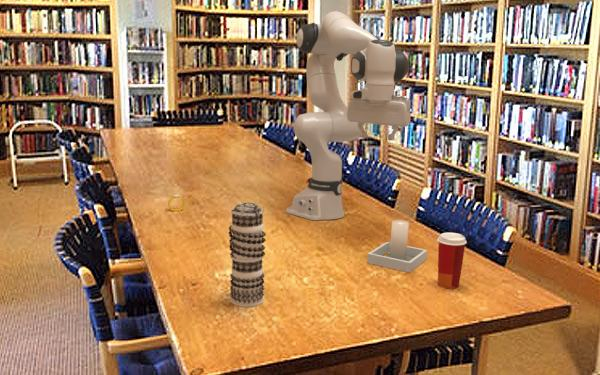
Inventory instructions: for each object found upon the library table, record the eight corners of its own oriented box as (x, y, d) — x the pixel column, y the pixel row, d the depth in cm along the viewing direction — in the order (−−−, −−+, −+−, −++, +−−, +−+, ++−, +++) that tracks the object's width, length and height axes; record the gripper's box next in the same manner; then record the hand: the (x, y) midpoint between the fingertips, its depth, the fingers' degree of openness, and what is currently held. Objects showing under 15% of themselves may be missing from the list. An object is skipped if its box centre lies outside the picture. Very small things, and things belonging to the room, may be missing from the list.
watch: (169, 212, 235) (168, 196, 234) (167, 210, 237) (167, 195, 236) (185, 210, 237) (184, 195, 236) (183, 209, 240) (183, 194, 238)
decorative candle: (221, 299, 158) (220, 204, 152) (249, 289, 165) (249, 198, 159) (244, 310, 152) (244, 212, 146) (272, 300, 158) (273, 205, 152)
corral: (367, 263, 186) (367, 253, 186) (386, 250, 198) (386, 241, 197) (409, 272, 179) (410, 262, 179) (426, 259, 191) (427, 250, 190)
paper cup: (458, 279, 175) (462, 232, 172) (466, 290, 168) (470, 240, 164) (430, 279, 175) (434, 231, 172) (437, 290, 167) (441, 240, 164)
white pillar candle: (386, 261, 187) (390, 223, 184) (391, 256, 192) (394, 218, 189) (403, 264, 185) (406, 225, 182) (407, 259, 190) (410, 221, 187)
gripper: (415, 95, 188) (412, 140, 192) (355, 91, 199) (353, 134, 202) (407, 97, 183) (404, 143, 186) (345, 92, 194) (344, 136, 197)
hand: (377, 138), depth 194 cm, fingers open, 8 cm apart
